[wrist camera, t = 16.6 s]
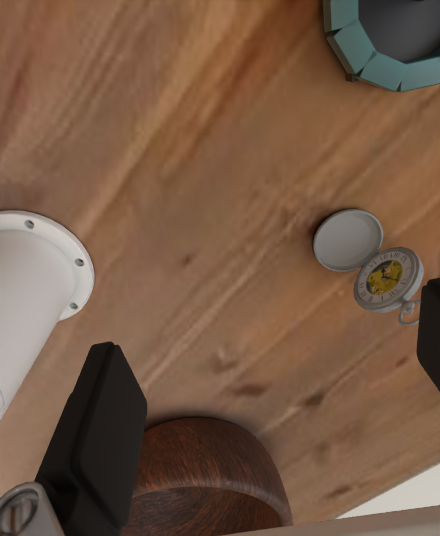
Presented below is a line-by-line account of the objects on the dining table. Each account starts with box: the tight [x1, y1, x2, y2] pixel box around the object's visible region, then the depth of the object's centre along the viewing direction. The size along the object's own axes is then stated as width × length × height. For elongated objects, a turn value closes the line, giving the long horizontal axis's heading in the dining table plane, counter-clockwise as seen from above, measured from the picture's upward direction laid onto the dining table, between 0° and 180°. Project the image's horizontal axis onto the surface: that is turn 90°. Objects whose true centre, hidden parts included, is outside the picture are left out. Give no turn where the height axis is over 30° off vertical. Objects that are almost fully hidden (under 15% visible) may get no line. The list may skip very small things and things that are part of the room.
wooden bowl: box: [120, 418, 293, 536], centre depth 49 cm, size 25×25×10 cm
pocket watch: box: [313, 209, 423, 326], centre depth 31 cm, size 8×8×10 cm
